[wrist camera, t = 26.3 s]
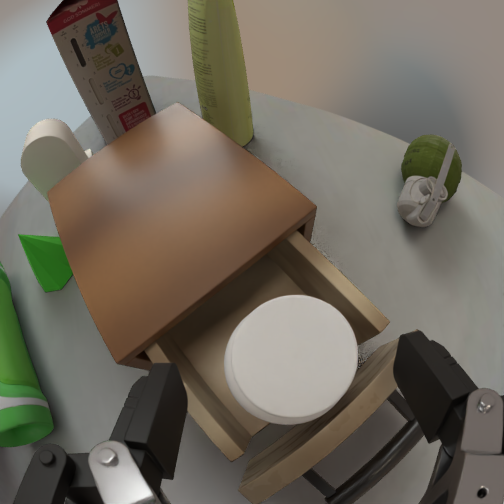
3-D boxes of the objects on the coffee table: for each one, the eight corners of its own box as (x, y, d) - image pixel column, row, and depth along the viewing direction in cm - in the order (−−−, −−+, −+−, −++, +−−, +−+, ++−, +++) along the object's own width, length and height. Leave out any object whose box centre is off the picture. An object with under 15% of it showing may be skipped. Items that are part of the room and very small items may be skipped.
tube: (266, 128, 28) (253, -51, 11) (246, 158, 27) (219, -48, 9) (220, 119, 30) (189, -43, 12) (197, 147, 28) (148, -33, 11)
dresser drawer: (425, 396, 15) (474, 393, 10) (301, 510, 12) (310, 550, 7) (260, 227, 22) (256, 177, 17) (140, 320, 19) (97, 295, 14)
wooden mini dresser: (305, 266, 21) (317, 206, 14) (170, 374, 18) (116, 364, 11) (197, 163, 27) (177, 101, 20) (91, 240, 24) (46, 192, 17)
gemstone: (33, 256, 24) (-2, 228, 18) (73, 227, 25) (40, 192, 19) (41, 304, 21) (-2, 279, 16) (84, 273, 22) (43, 241, 17)
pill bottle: (226, 393, 16) (181, 400, 8) (257, 317, 18) (243, 254, 10) (310, 422, 14) (345, 455, 6) (337, 343, 16) (392, 301, 9)
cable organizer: (66, 239, 24) (5, 179, 15) (62, 179, 28) (21, 123, 20) (107, 214, 25) (53, 143, 16) (97, 157, 29) (60, 95, 20)
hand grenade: (480, 150, 18) (456, 240, 17) (446, 174, 24) (417, 252, 23) (432, 108, 18) (398, 193, 17) (404, 140, 25) (367, 216, 24)
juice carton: (148, 105, 33) (101, -34, 14) (161, 127, 30) (105, -40, 11) (105, 128, 32) (44, -6, 12) (112, 153, 29) (35, -5, 10)
